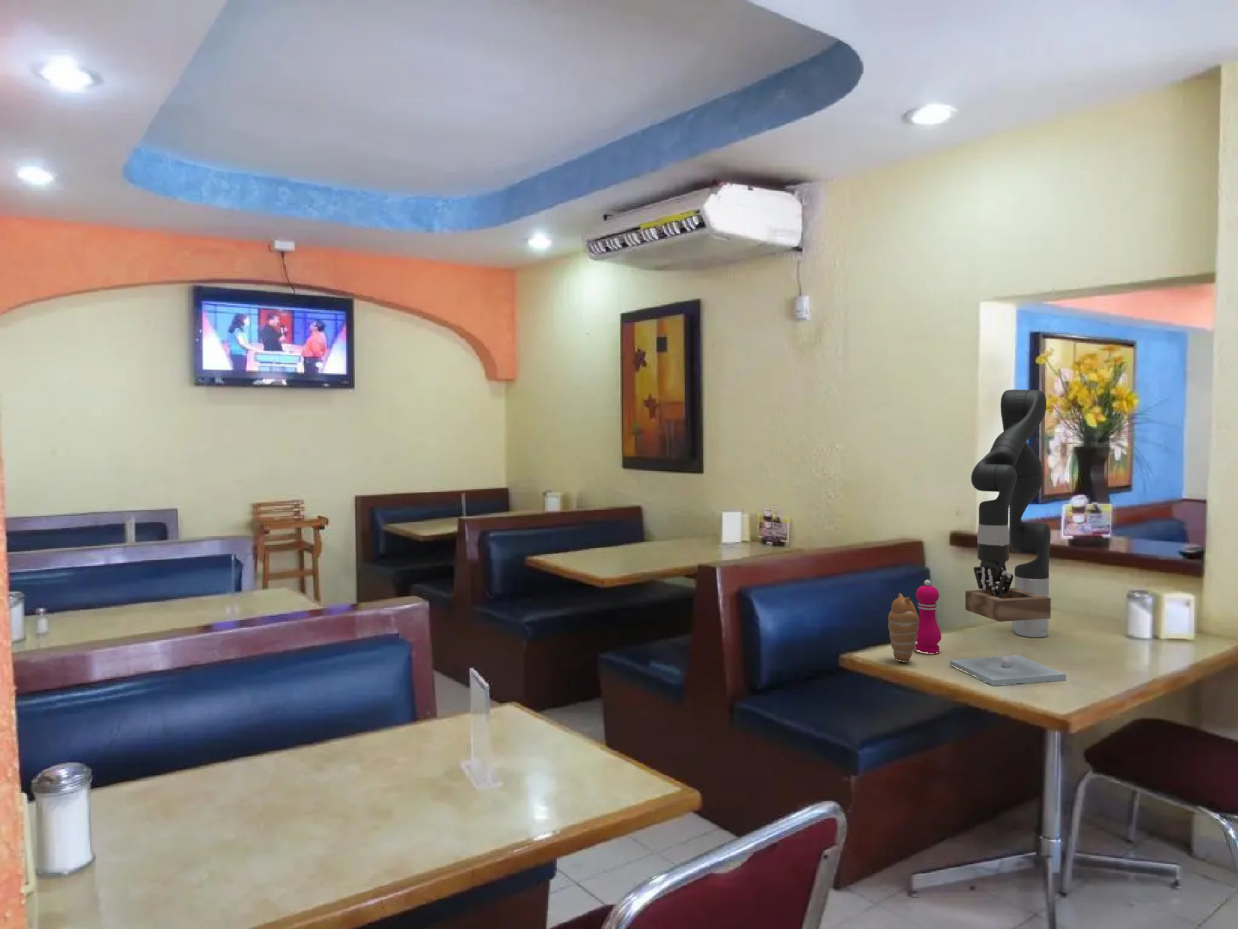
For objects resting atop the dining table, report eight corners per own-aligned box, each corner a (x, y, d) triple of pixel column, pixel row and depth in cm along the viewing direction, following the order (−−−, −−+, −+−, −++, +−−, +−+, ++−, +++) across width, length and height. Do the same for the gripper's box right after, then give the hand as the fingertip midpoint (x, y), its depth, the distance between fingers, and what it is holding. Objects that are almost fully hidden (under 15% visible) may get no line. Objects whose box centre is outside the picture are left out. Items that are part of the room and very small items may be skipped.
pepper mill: (920, 646, 245) (921, 576, 244) (945, 651, 240) (946, 579, 239) (908, 651, 240) (908, 580, 239) (933, 656, 235) (934, 583, 234)
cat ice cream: (924, 666, 226) (925, 597, 225) (896, 667, 225) (896, 598, 224) (908, 657, 235) (908, 591, 234) (881, 658, 233) (881, 592, 232)
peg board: (949, 665, 226) (949, 650, 226) (1017, 660, 230) (1018, 645, 230) (992, 686, 208) (993, 669, 208) (1065, 680, 212) (1066, 664, 212)
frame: (965, 609, 224) (965, 590, 223) (1013, 607, 226) (1013, 588, 226) (999, 621, 210) (999, 601, 210) (1050, 618, 213) (1050, 598, 213)
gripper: (964, 539, 229) (963, 604, 230) (997, 546, 215) (996, 615, 216) (989, 537, 231) (988, 602, 231) (1024, 544, 217) (1023, 613, 218)
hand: (992, 608), depth 224 cm, fingers closed on frame, 2 cm apart
